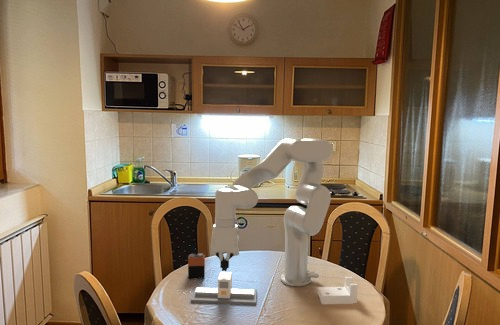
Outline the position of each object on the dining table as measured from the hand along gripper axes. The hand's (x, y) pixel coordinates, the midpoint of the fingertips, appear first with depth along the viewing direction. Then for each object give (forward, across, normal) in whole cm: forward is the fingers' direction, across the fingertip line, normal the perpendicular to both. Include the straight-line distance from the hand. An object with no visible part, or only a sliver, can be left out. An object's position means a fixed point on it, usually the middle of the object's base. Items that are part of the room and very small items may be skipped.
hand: (224, 269), depth 140 cm
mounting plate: (+11, 0, 0) cm, 11 cm away
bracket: (+11, -43, -2) cm, 44 cm away
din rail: (+11, 0, 0) cm, 11 cm away
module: (+10, 0, 0) cm, 10 cm away
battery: (+11, +14, -17) cm, 25 cm away
